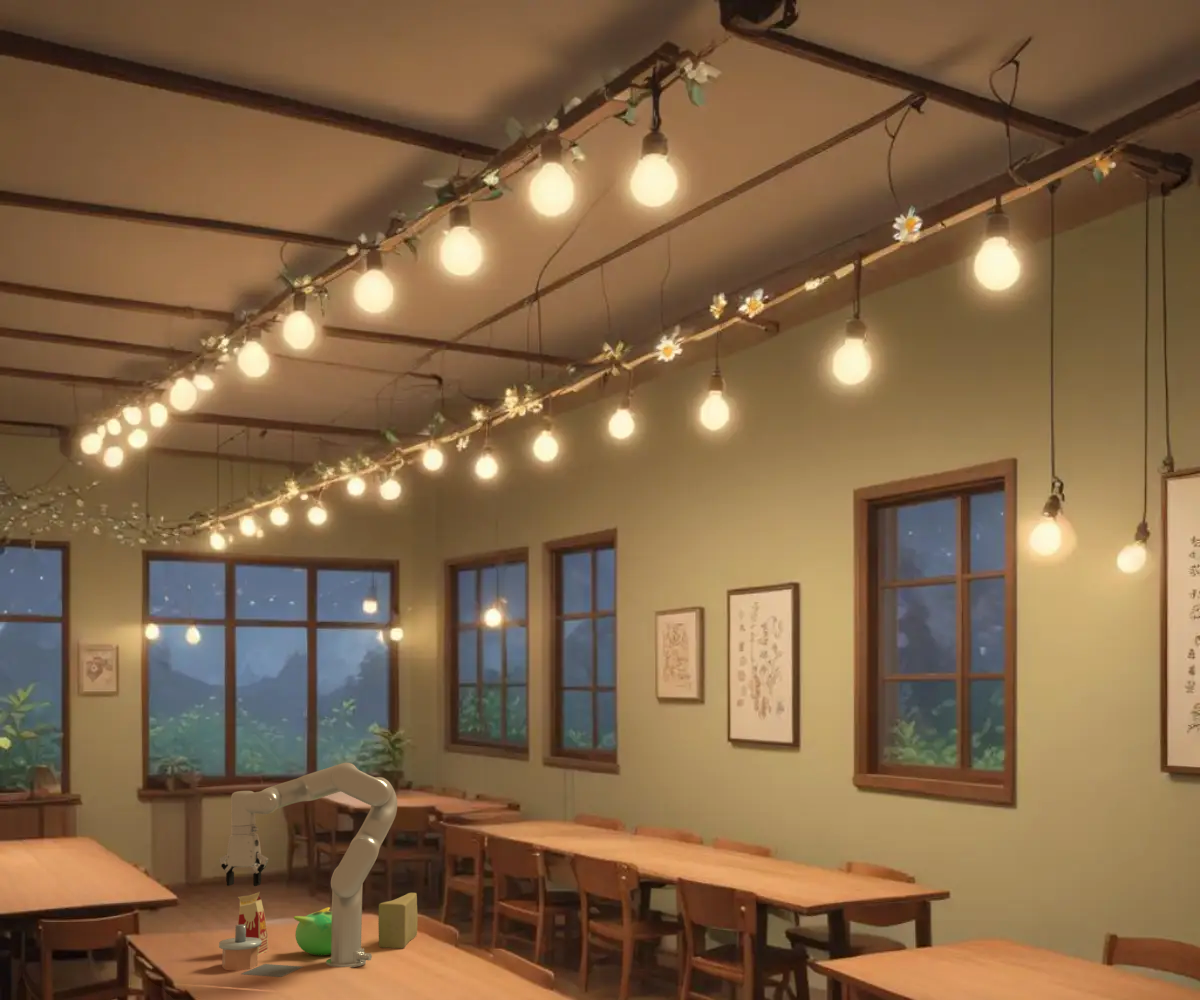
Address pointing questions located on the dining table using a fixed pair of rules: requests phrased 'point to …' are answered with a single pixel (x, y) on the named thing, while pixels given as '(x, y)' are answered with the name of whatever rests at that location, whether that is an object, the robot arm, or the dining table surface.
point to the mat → (272, 970)
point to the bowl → (239, 959)
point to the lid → (240, 940)
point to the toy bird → (315, 932)
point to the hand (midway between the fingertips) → (243, 885)
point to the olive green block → (398, 921)
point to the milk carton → (254, 919)
